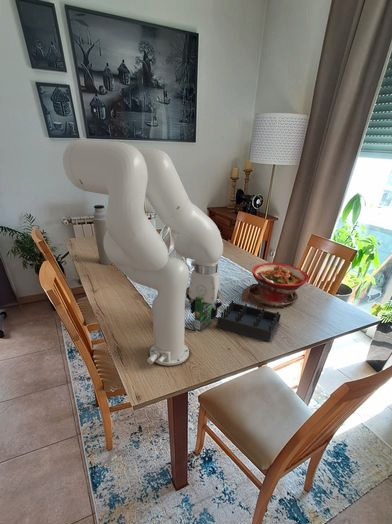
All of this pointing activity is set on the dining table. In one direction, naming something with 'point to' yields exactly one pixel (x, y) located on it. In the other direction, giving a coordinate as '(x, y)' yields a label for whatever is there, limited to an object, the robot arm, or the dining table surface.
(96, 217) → the thermos bottle
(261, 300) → the stew
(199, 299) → the coffee box
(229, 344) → the dining table surface
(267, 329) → the rack
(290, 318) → the dining table surface
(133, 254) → the robot arm
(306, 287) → the dining table surface
